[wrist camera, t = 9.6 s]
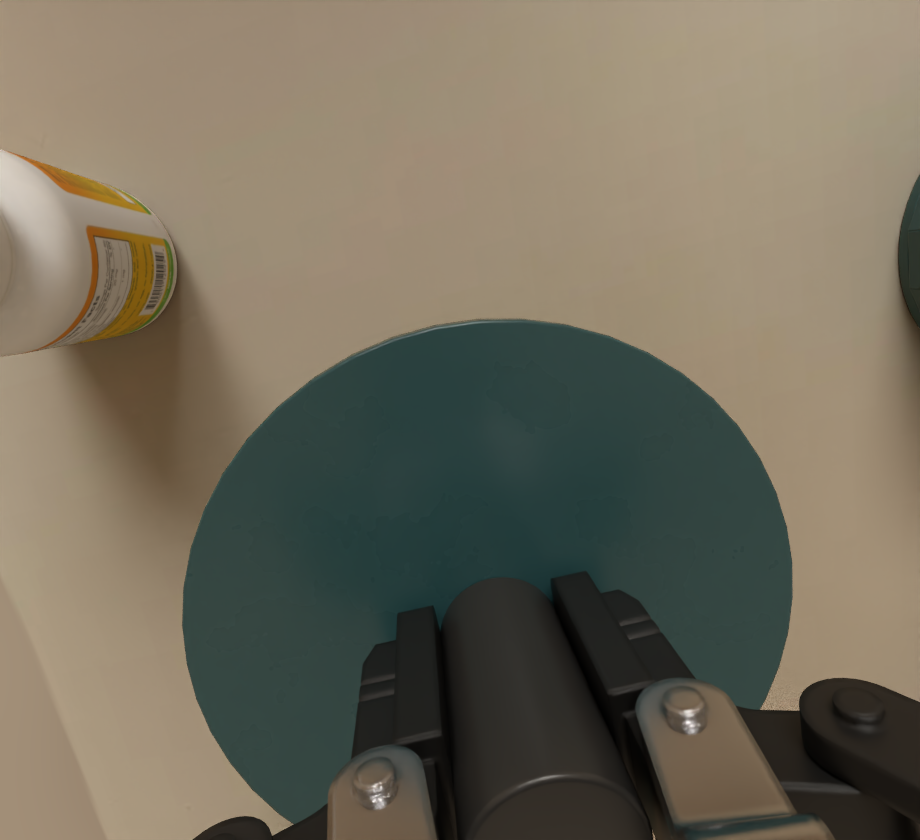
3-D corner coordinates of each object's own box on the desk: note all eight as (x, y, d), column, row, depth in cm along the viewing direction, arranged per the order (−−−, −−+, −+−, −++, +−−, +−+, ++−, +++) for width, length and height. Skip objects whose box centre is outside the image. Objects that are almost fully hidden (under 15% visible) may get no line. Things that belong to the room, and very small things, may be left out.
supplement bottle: (-6, 224, 21) (-335, 175, 12) (129, 157, 21) (-96, 54, 12) (81, 360, 23) (-155, 414, 13) (208, 298, 22) (63, 306, 13)
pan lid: (118, 389, 12) (-190, 497, 6) (736, 258, 12) (1058, 231, 6) (288, 887, 14) (203, 1310, 8) (783, 768, 15) (1033, 1089, 9)
